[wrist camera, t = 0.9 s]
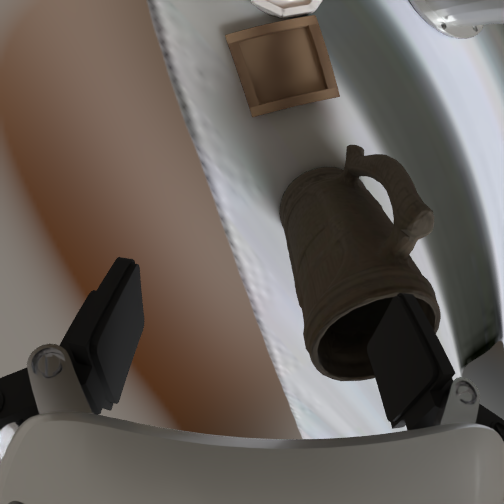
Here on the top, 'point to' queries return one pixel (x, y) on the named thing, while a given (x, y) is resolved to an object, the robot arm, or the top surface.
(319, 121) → the top surface
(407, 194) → the beer stein
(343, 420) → the top surface
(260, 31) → the tray
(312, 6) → the octagonal white dish
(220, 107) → the top surface
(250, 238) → the top surface
